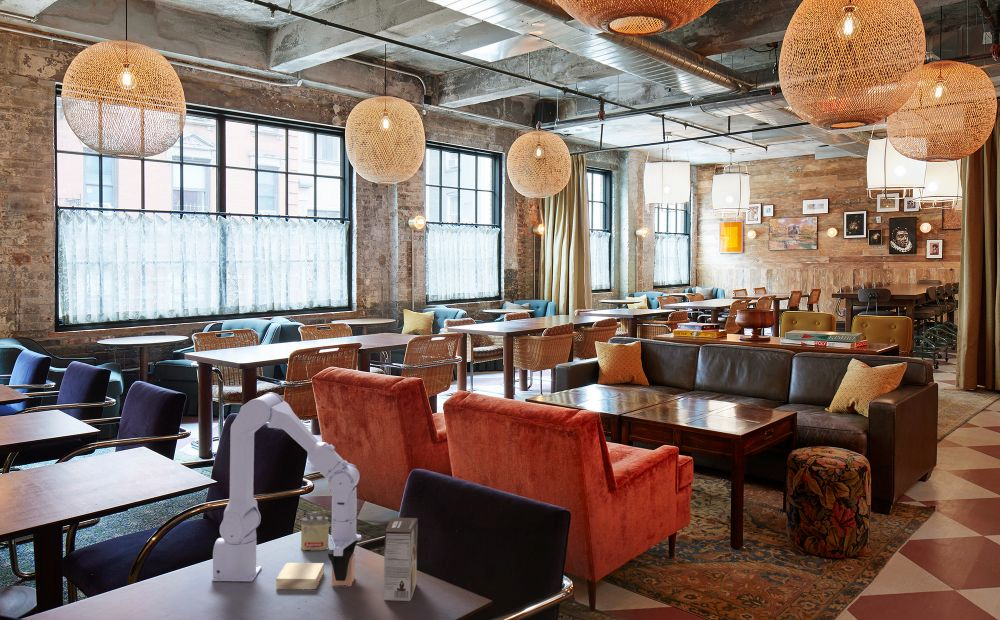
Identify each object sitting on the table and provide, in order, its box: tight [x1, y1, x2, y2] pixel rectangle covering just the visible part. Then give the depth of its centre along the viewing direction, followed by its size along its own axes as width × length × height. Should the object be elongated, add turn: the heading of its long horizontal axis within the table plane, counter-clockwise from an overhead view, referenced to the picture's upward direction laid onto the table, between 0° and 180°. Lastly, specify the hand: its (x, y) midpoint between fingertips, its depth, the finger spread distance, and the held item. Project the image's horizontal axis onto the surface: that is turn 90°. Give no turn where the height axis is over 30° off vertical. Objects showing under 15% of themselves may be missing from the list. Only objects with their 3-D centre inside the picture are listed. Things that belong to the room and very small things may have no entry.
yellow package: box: [300, 509, 330, 551], centre depth 193 cm, size 7×4×10 cm, turn 97°
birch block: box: [275, 562, 325, 591], centre depth 173 cm, size 9×9×3 cm
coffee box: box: [383, 517, 419, 602], centre depth 169 cm, size 9×6×16 cm
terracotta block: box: [331, 553, 356, 587], centre depth 174 cm, size 4×4×6 cm
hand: (343, 573), depth 174 cm, fingers open, 6 cm apart
